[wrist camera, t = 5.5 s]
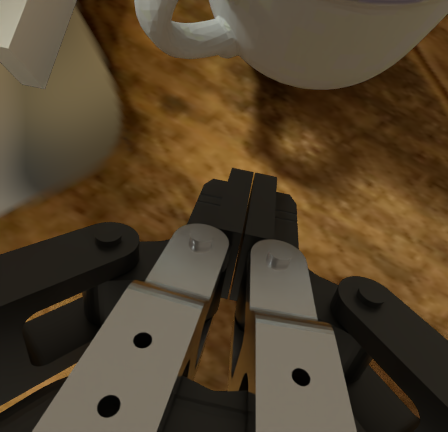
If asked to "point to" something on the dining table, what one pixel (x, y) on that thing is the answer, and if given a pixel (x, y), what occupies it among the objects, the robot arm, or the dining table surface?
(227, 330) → the dining table surface
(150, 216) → the dining table surface
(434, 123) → the dining table surface
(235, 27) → the teacup
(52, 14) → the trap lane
